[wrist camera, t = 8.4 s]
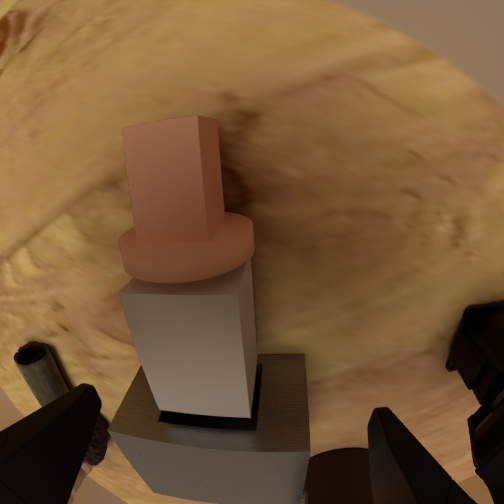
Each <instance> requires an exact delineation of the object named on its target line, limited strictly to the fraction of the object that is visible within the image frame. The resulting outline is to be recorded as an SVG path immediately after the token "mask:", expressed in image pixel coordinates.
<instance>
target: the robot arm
mask: <svg viewBox="0 0 504 504" xmlns="http://www.w3.org/2000/svg"><path fill="white" fill-rule="evenodd" d="M446 368H447V370H448V371H449V372H451V371H456V370H458V372H459V374H460V376H461V377H462V379H463V381H464V383H465V385H466V386H467V388H468V389H469V390H471V389H472V390H473V392H474V394H475V396H476V398H477V400H478V401H479V403H480V405H482V406H481V407H480V408H479V409H478V410H477V411H476V412H475V413H474V414H472V415H471V416H470V417H469V418H468V419H467V421H468V427H469V434H470V442H471V451H472V458H473V463H474V466H475V467H476V470H475V472H476V474H477V475H479V477H480V478H481V479H482V480H483V481H484V483H485V484H486V486H487V487H488V489H489V491H490V494H491V496H492V499H493V502H494V504H504V301H503V302H496V303H490V304H483V305H476V306H470V307H468V308H467V309H466V311H465V313H464V317H463V320H462V323H461V326H460V329H459V332H458V335H457V338H456V341H455V344H454V346H453V349H452V352H451V354H450V357H449V360H448V362H447V365H446ZM101 406H102V402H101V399H100V397H99V395H98V393H97V391H96V389H95V387H94V386H93V385H90V384H86V383H82V384H80V385H78V386H77V387H75V388H74V389H72V390H70V391H69V392H67V393H65V394H64V395H62V396H60V397H59V398H57V399H55V400H53V401H52V402H50V403H48V404H47V405H45V406H43V407H42V408H40V409H38V410H37V411H35V412H33V413H31V414H30V415H28V416H26V417H25V418H23V419H21V420H19V421H18V422H16V423H14V424H13V425H11V426H10V427H7V428H6V429H4V430H2V431H0V504H68V501H69V498H70V496H71V493H72V490H73V487H74V485H75V482H76V479H77V477H78V474H79V471H80V469H81V466H82V464H83V461H84V458H85V456H86V453H87V451H88V448H89V446H90V443H91V440H92V437H93V434H94V430H95V427H96V424H97V420H98V417H99V413H100V410H101ZM368 448H369V471H370V478H371V485H372V491H373V498H374V504H477V503H476V502H475V501H474V500H473V499H472V498H470V497H469V496H468V494H467V493H466V492H465V491H463V490H462V488H461V487H460V486H459V485H458V484H457V483H456V482H455V481H454V480H452V478H451V476H450V475H449V474H448V473H447V472H446V471H445V470H444V469H443V468H442V466H441V465H440V464H439V463H438V462H437V461H436V460H435V459H434V458H433V456H432V455H431V454H430V453H429V452H428V451H427V450H426V449H425V448H424V447H423V445H422V444H421V443H420V442H419V441H418V440H417V439H416V438H415V437H414V435H413V434H412V433H411V432H410V431H409V430H408V429H407V428H406V427H405V425H404V424H403V423H402V422H401V421H400V420H399V419H398V418H397V417H396V415H395V414H394V413H393V412H392V411H391V410H390V409H389V408H388V407H378V408H375V409H374V410H373V413H372V415H371V418H370V420H369V423H368Z"/></svg>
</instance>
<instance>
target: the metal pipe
mask: <svg viewBox="0 0 504 504" xmlns="http://www.w3.org/2000/svg"><path fill="white" fill-rule="evenodd" d="M14 361H15V363H16V365H17V367H18V368H19V370H20V372H21V374H22V375H23V377H24V379H25V381H26V382H27V384H28V386H29V387H30V389H31V391H32V392H33V394H34V396H35V397H36V399H37V400H38V402H39V403H40V405H41V406H42V407H43V406H45V405H47V404H48V403H50V402H52V401H53V400H55V399H57V398H59V397H60V396H62V395H64V394H65V393H67V392H69V390H68V388H67V386H66V384H65V382H64V380H63V378H62V376H61V374H60V372H59V370H58V368H57V366H56V363H55V361H54V359H53V357H52V355H51V353H50V351H49V349H48V346H47V345H46V344H45V343H39V342H35V341H33V342H30V343H27V344H25V345H24V346H22V347H20V348H19V349H18V353H17V352H16V353H15V355H14ZM108 428H109V427H108V426H107V425H106V422H105V421H104V420H103V418H102V417H101V416H100V415H99V417H98V420H97V424H96V427H95V430H94V434H93V437H92V440H91V443H90V446H89V448H88V451H87V453H86V456H85V458H84V461H83V462H84V463H87V464H89V465H91V466H95V465H99V463H100V462H101V461H102V460H103V459H104V456H105V453H106V450H107V441H108V438H109V436H110V433H109V432H108Z"/></svg>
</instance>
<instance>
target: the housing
mask: <svg viewBox="0 0 504 504" xmlns="http://www.w3.org/2000/svg"><path fill="white" fill-rule="evenodd" d="M257 355H258V357H257V366H256V375H255V384H254V393H253V401H252V410H251V418H242V417H224V416H210V415H199V414H189V413H180V412H172V411H165V410H159V408H158V405H157V403H156V401H155V398H154V396H153V393H152V391H151V388H150V386H149V383H148V380H147V378H146V375H145V373H144V370H143V367H142V365H141V367H140V368H139V370H138V372H137V374H136V376H135V378H134V380H133V382H132V383H131V385H130V387H129V389H128V391H127V393H126V395H125V397H124V399H123V401H122V403H121V405H120V406H119V408H118V410H117V412H116V414H115V416H114V418H113V420H112V422H111V424H110V426H109V428H108V432H109V433H110V435H111V436H112V438H113V439H114V441H115V442H116V444H117V445H118V447H119V448H120V450H121V451H122V452H123V454H124V455H125V457H126V458H127V459H128V461H129V462H130V463H131V465H132V466H133V467H134V469H135V470H136V471H137V473H138V474H139V475H140V476H141V478H142V479H143V480H144V481H145V483H146V484H147V485H148V486H149V487H150V489H151V490H152V491H153V492H154V493H158V494H162V495H167V496H172V497H177V498H183V499H188V500H195V501H201V502H209V503H217V504H300V503H301V498H302V493H303V489H304V484H305V479H306V474H307V468H308V463H309V457H310V452H311V451H310V429H309V411H308V395H307V380H306V366H305V354H257Z"/></svg>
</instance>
